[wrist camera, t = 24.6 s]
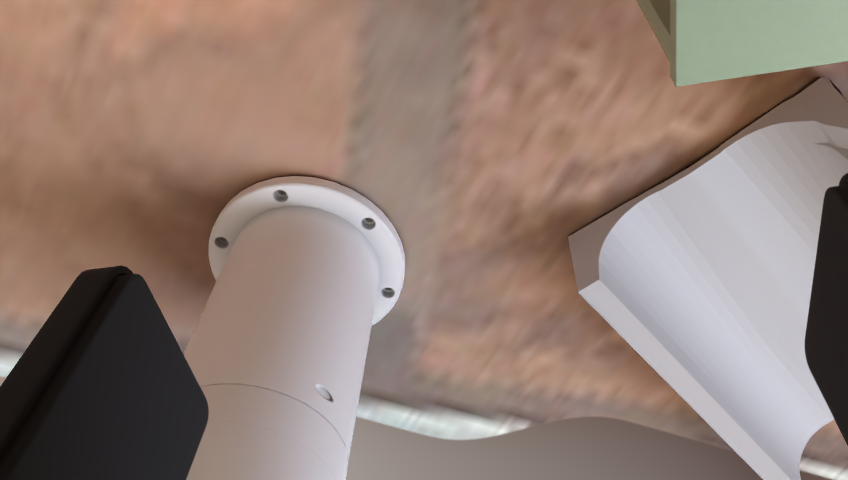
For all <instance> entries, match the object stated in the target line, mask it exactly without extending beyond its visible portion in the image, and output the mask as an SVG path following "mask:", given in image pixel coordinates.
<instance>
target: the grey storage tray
mask: <svg viewBox="0 0 848 480" xmlns="http://www.w3.org/2000/svg"><path fill="white" fill-rule="evenodd" d="M828 79H829V78H828ZM829 80H830V79H829ZM830 82H831V83H832V81H831V80H830ZM832 85H833V86H834V87H833V86H832ZM832 85H831V84H830V83H829V82H828V81H827V80H826V79H825V78H824V77H822V78H820V79H819V80H817V81H816V82H814V83H813V84H811V85H810V86H808V87H807V88H806V89H804V90H803V91H802V92H800V93H799V94H797V95H796V96H795V97H793V98H791V99H789V100H787V101H785V102H783V103H782V104H780V105H779V106H777V107H776V108H774V109H773V110H771V111H770V112H768V113H767V114H765V115H764V116H762V117H761V118H759V119H758V120H757V121H755V122H754V123H752V124H751V125H749V126H748V127H746V128H745V129H743V130H742V131H740V132H739V133H738V134H736V135H735V136H733V137H732V138H730V139H729V140H727V141H726V142H725V143H723V144H722V145H721V146H720V147H719V148H717V149H716V150H714V151H713V152H711V153H710V154H708V155H707V156H705V157H704V158H702V159H701V160H700V161H698V162H697V163H695V164H694V165H692V166H691V167H689V168H687V169H685V170H684V171H682V172H680V173H678V174H677V175H675V176H673V177H672V178H670V179H668V180H666V181H665V182H663V183H661V184H660V185H657V186H655V187H654V188H652V189H650V190H648V191H646V192H645V193H643V194H641V195H639V196H638V197H636V198H634V199H632V200H630V201H628V202H627V203H625V204H623V205H621V206H620V207H618V208H617V209H615V210H613V211H612V212H610V213H608V214H606V215H605V216H603V217H601V218H600V219H598V220H596V221H594V222H593V223H591V224H589V225H588V226H586V227H584V228H582V229H581V230H579V231H577V232H576V233H574V234H572V235H570V236H569V237H568V241H569V247H570V253H571V258H572V263H573V268H574V274H575V279H576V285H577V292H578V293H579V294H580V295H581V296H582V297H583V298H584V299H585V300H586V301H587V302H588V303H589V304H590V305H591V306H592V307H593V308H594V309H595V310H596V311H597V312H598V313H599V314H600V315H601V316H602V317H603V318H604V319H605V320H606V321H607V322H608V323H609V325H610V326H611V327H612V328H613V329H614V330H615V331H616V332H617V333H618V334H619V335H620V336H621V337H622V338H623V339H624V340H625V341H626V342H627V343H628V344H629V345H630V346H631V347H632V348H633V349H634V350H635V351H636V352H637V353H638V354H639V355H640V356H641V357H642V358H643V359H644V360H645V361H646V362H647V363H648V364H649V365H650V366H651V367H652V368H653V369H654V370H655V371H656V372H657V373H658V374H659V375H660V376H661V377H662V378H663V379H664V380H665V381H666V382H667V383H668V384H669V385H670V386H671V387H672V388H673V389H674V390H675V391H676V392H677V393H678V394H679V395H680V396H681V397H682V398H683V399H684V400H685V401H686V402H687V403H688V404H689V405H690V406H691V407H692V408H693V409H694V410H695V411H696V412H697V413H698V414H699V415H700V416H701V417H702V418H703V419H704V420H705V421H706V422H707V423H708V424H709V425H710V426H711V427H712V428H713V429H714V430H715V431H716V432H717V434H718V435H719V436H720V437H721V438H722V439H723V440H724V441H725V442H726V443H727V444H728V445H729V446H730V447H731V448H732V449H733V450H734V451H735V452H736V453H737V454H738V455H739V456H740V457H741V458H742V459H744V461H745V462H746V463H747V464H748V465H749V466H750V467H751V468H752V469H753V470H754V471H755V472H756V473H757V474H758V475H759V476H760V477H761V478H762V479H763V480H801V477H800V469H799V465H800V458H801V454H802V451H803V449H804V447H805V445H806V443H807V442H808V440H809V439H810V438H811V436H812V435H813V434H814V433H815V432H816V431H817V430H819V429H820V428H821V427H823V426H824V425H826V424H827V423H829V422H831V421H833V420H835V419H834V417H833V415H832V413H831V411H830V409H829V407H828V405H827V403H826V401H825V399H824V397H823V395H822V393H821V391H820V389H819V387H818V385H817V383H816V381H815V379H814V377H813V375H812V373H811V371H810V369H809V367H808V364H807V360H806V355H805V347H804V345H805V334H806V327H807V320H808V312H809V305H810V297H811V290H812V283H813V275H814V268H815V260H816V253H817V245H818V238H819V231H820V223H821V216H822V208H823V201H824V196H825V192H826V190H827V189H828V188H829V187H834V186H839V182H840V180H841V178H842V176H843V175H845V174H846V173H848V102H847V100H846V99H845V98H844V96H843V95H842V93H841V91H840V90H839V89H838V88H837V87H836V86H835V85H834V84H833V83H832ZM800 103H801V104H800ZM809 114H810V115H809ZM816 123H817V124H816ZM818 126H819V127H818Z"/></svg>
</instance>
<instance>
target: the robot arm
mask: <svg viewBox="0 0 848 480" xmlns="http://www.w3.org/2000/svg"><path fill="white" fill-rule="evenodd" d="M282 190H283V191H282ZM208 257H209V261H210V266H211V271H212V273H213V275H214V278H215V280H216V283H215V286H214V288H213V290H212V292H211V294H210V297H209V299H208V301H207V303H206V305H205V308H204V310H203V312H202V314H201V316H200V319H199V321H198V323H197V325H196V327H195V330H194V332H193V334H192V336H191V338H190V341H189V343H188V345H187V347H186V349H185V352H184V354H183V353H182V351H181V349H180V347H179V345H178V343H177V341H176V339H175V337H174V335H173V334H172V332H171V330H170V328H169V326H168V324H167V322H166V320H165V318H164V316H163V314H162V312H161V310H160V309H159V307H158V305H157V303H156V301H155V299H154V297H153V295H152V293H151V291H150V289H149V287H148V285H147V283H146V282H145V280H144V279H143V277H141V276H140V275H138V274H133V273H132V271H131V270H130V269H128V268H127V267H125V266H115V267H107V268H99V269H91V270H86V271H83V272H82V273H81V274H80V275H79V276H78V277H77V278H76V280H75V281H74V282H73V284H72V285H71V287H70V288H69V290H68V291H67V292H66V294H65V295H64V297H63V298H62V300H61V301H60V302H59V304H58V305H57V307H56V308H55V309H54V311H53V312H52V314H51V315H50V317H49V318H48V319H47V321H46V322H45V324H44V325H43V327H42V328H41V329H40V331H39V332H38V334H37V335H36V337H35V338H34V339H33V341H32V342H31V344H30V345H29V347H28V348H27V349H26V351H25V352H24V354H23V355H22V356H21V358H20V359H19V361H18V362H17V364H16V365H15V366H14V368H13V369H12V371H11V372H10V374H9V375H8V376H7V378H6V379H5V381H4V382H3V384H2V385H1V386H0V480H346V473H347V467H348V461H349V455H350V448H351V443H352V437H353V431H354V425H355V420H356V414H357V408H358V402H359V396H360V390H361V384H362V378H363V373H364V367H365V361H366V355H367V349H368V343H369V337H370V332H371V326H372V325H374V324H375V323H377V322H379V321H380V320H381V319H382V318H383V317H384V316H385V315H386V314H387V313H388V312H389V311H390V310H391V309H392V307H393V306H394V304H395V303H396V301H397V300H398V298H399V295H400V292H401V289H402V287H403V282H404V275H405V254H404V250H403V246H402V242H401V240H400V238H399V236H398V234H397V232H396V230H395V228H394V226H393V224H392V223H391V222H390V221H389V219H388V218H387V217H386V216H385V214H384V213H383V212H382V211H381V210H380V209H379V208H378V207H376V206H375V205H374V204H373V203H372V202H371V201H370V200H368V199H367V198H365V197H364V196H362V195H360V194H359V193H357V192H355V191H354V190H352V189H350V188H347V187H345V186H342V185H340V184H338V183H335V182H332V181H328V180H323V179H319V178H315V177H303V176H288V177H278V178H272V179H269V180H265V181H262V182H258V183H256V184H254V185H252V186H250V187H248V188H246V189H244V190H242V191H241V192H240V193H238V194H237V195H236V196H235V197H234V198H232V199H231V200H230V201H229V202H228V203H227V205H226V206H225V207H224V209H223V210H222V211H221V213H220V214H219V216H218V218H217V220H216V222H215V224H214V226H213V228H212V232H211V235H210V238H209V255H208ZM804 347H805V355H806V360H807V364H808V367H809V369H810V371H811V373H812V375H813V377H814V379H815V381H816V383H817V385H818V387H819V389H820V391H821V393H822V395H823V397H824V399H825V401H826V403H827V405H828V407H829V409H830V411H831V413H832V415H833V417H834V419H835V421H836V423H837V425H838V427H839V429H840V431H841V433H842V435H843V437H844V439H845V441H846V443H847V445H848V173H846V174H845V175H843V176H842V178H841V180H840V182H839V186H834V187H829V188H828V189H827V190H826V192H825V196H824V201H823V208H822V216H821V223H820V231H819V238H818V245H817V253H816V260H815V268H814V275H813V283H812V290H811V297H810V305H809V312H808V320H807V327H806V334H805V345H804Z"/></svg>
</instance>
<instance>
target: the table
mask: <svg viewBox="0 0 848 480" xmlns="http://www.w3.org/2000/svg"><path fill="white" fill-rule="evenodd" d="M637 2H638V4H639V6H640V8H641V10H642V11H643V13H644V15H645V17H646V19H647V20H648V22H649V24H650V26H651V28H652V30H653V31H654V33H655V35H656V37H657V39H658V41H659V42H660V44H661V46H662V48H663V50H664V52H665V53H666V55H667V57H668V59H669V61H670V77H671V79H672V81H673V82H674V84H675V86H677V87H678V86H684V85H691V84H698V83H704V82H711V81H718V80H724V79H731V78H738V77H745V76H751V75H758V74H765V73H771V72H778V71H785V70H791V69H798V68H805V67H811V66H818V65H825V64H832V63H838V62H845V61H848V0H637Z"/></svg>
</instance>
